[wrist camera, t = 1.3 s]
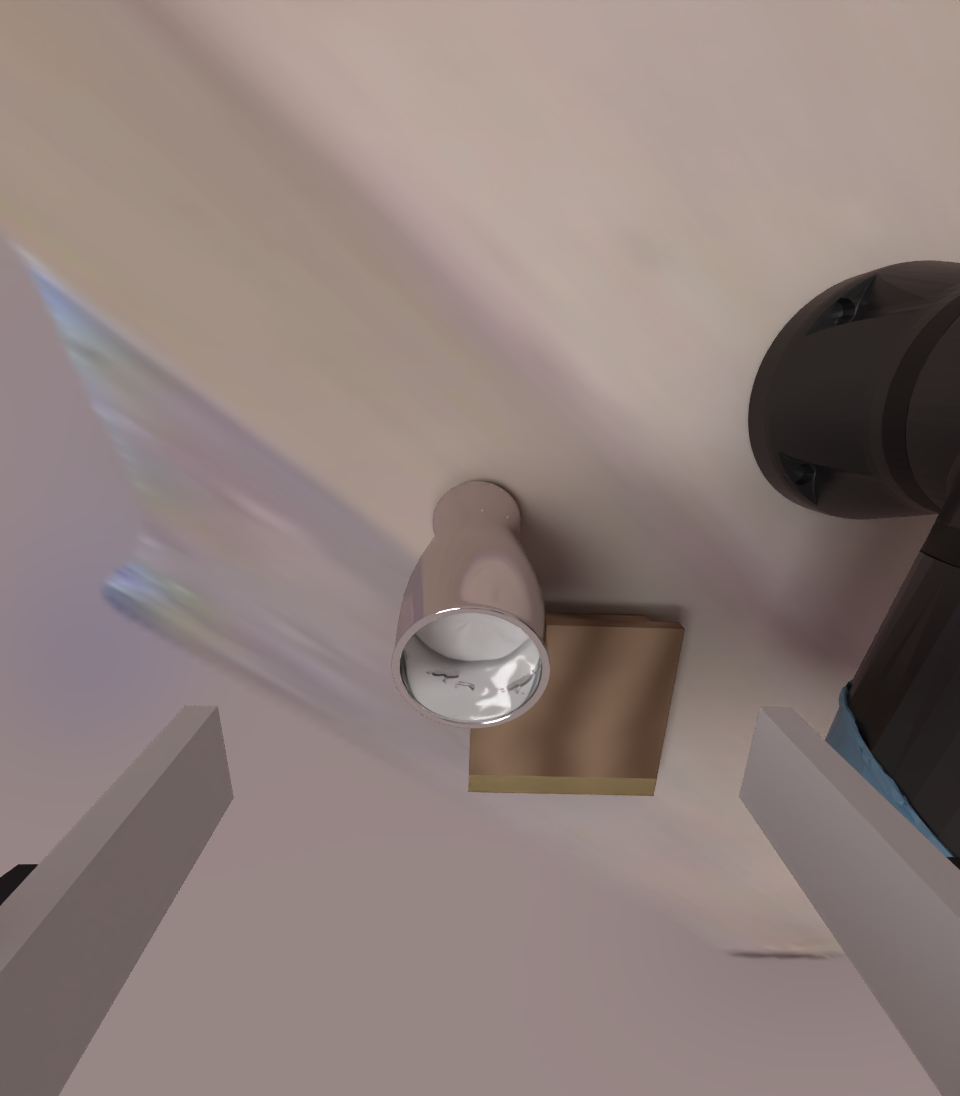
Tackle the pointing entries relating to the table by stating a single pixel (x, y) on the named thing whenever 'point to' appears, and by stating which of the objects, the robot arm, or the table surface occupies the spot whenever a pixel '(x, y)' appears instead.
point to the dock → (588, 712)
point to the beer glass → (472, 616)
